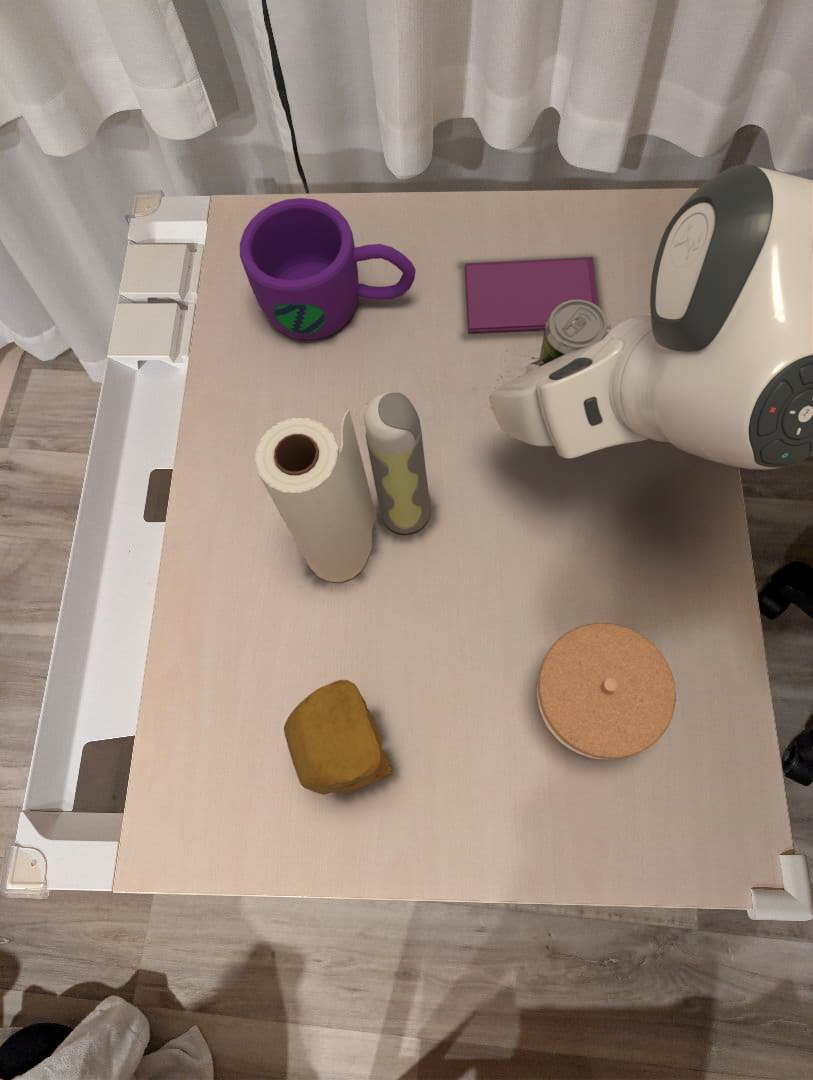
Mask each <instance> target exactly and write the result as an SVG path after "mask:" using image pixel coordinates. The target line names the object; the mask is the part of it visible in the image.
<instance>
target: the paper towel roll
mask: <svg viewBox="0 0 813 1080" xmlns="http://www.w3.org/2000/svg"><path fill="white" fill-rule="evenodd" d="M340 432H341V433H340V435H341V437H340V438H341V447H340V448H339V445H338V443H337V440H336V437H335V435H334V433H333V432H332V431H330V429H329V428H328V427H327V426H325V424H324V423H322V422H319V421H316V420H314V419H312V418H309V417H290V418H287V419H285V420H283V421H282V420H281V421H279V422H276V423H275V424H274V425H273V426H272V427H270V428H269V429H268V430H267V431H266V432H264V433H263V435H262V437H261V439H260V440H259V441H258V443H257V445H256V450H255V457H254V464H255V467H256V471H257V473H258V476H259V478H260V481H261V482H262V484H263V485H264V487H265V489H266V491H267V493H268V494H269V496H270V498H271V500H272V502H273V504H274V505H275V507H276V508H277V511H278V513H279V514H280V516H281V518H282V520H283V522H284V523H285V525H286V527H287V528H288V530H289V533H290V534H291V537H292V538H293V539H294V542H295V543H296V545H297V547H298V549H299V550H300V552H301V554H302V556H303V558H304V559H305V561H306V563H307V566H309V568H310V569H311V571H312V572H313V573H314V574H315V575H316V576H317V577H318V578H320V579H322V580H324V581H327V582H329V583H343V582H346V581H349V580H352V579H354V578H355V577H356V576H357V575H359V574H360V573H361V572H362V571H363V570H364V568H365V566H366V563H367V562H368V560H369V556H370V554H371V552H372V549H373V530H374V529H373V528H374V524H375V522H376V521H377V514H376V509H375V505H374V500H373V497H372V493H371V490H370V486H369V483H368V482H369V481H368V477H367V473H366V470H365V466H364V461H363V458H362V453H361V450H360V446H359V442H358V439H357V437H358V436H357V434H356V430H355V425H354V422H353V418H352V413H351V410H350V408H347V410H346V411H345V414H344V415H343V418H342V424H341V427H340Z"/></svg>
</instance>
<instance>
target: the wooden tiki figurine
mask: <svg viewBox="0 0 813 1080" xmlns="http://www.w3.org/2000/svg"><path fill="white" fill-rule="evenodd" d="M379 730H380V729H379V728H378V725H377V722H376V721H375V717H374V715H373V714H372V713H371V711H370V710H369V708H368V706H367V703H366V701H365V699H364V697H363V695H362V694H361V691H360V689H359V688H358V686H357V685H356V684H355V683H354V682H352V681H350V680H349V679H339V680H334V681H332V682H331V683H328V684H326V685H323V686H321V687H319V688H317V689H315V690H314V691H312V692H311V693H310V694H308V695H307V697H305V698H304V699H303V700H302V701H300V703H298V704H297V706H296V707H295V708H294V709H293V710H292V711H291V712H290V714H289V715H288V717H287V719H286V721H285V723H284V725H283V733H284V737H285V741H286V744H287V747H288V753H289V755H290V758H291V761H292V765H293V767H294V770H295V773H296V775H297V779H298V781H299V784H300V786H301V787H302V788H304V789H306V790H308V791H311V792H314V793H316V794H320V795H324V796H325V795H330V794H334V793H338V792H339V793H340V795H346V794H348V793H351V792H354V791H356V790H358V789H361V788H363V787H366V786H368V785H370V784H373V783H376V782H377V781H380V780H382V779H384V778H387V777H389V776H391V775H393V774H394V773H393V769H392V768H393V767H392V765H391V763H390V762H391V761H390V760H389V759H388V755H387V753H385V750H384V748H383V741H382V737H381V736H382V735H381V734H380V731H379Z"/></svg>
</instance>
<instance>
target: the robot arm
mask: <svg viewBox="0 0 813 1080" xmlns="http://www.w3.org/2000/svg"><path fill="white" fill-rule="evenodd" d="M649 309H650V311H649V312H647V313H646V314H645V313H644V314H643V315H638V316H633V317H630V318H627V319H625V320H623V321H622V322H620V323H619V324H617V325H616V326H614V327H613V328H611V329H608V328H607V332H608V333H607V334H606V335H604V336H603V338H602V339H601V340H600V341H598V342H596V343H594V344H592V345H590V346H587V347H585V348H581V349H577V350H574V351H571V352H569V353H566V354H564V355H562V356H560V357H558V358H556V359H554V360H552V361H550V362H548V363H547V362H546V361H544V360H541V359H540V360H539V359H538V360H535V361H532V362H531V363H529V364H527V365H526V366H525V370H526V372H525V373H523V374H521V375H520V376H517V377H515V378H514V379H511V380H509V381H508V382H505V383H504V384H502V385H499V386H497V387H495V388H494V389H493V390H492V391H491V393H490V395H489V403H490V407H491V409H492V412H493V415H494V418H495V420H496V423H497V425H498V427H499V429H500V431H502V432H503V433H504V434H506V435H507V436H510V437H511V438H514V439H515V440H518V441H521V442H523V443H526V444H528V445H530V446H535V447H546V448H547V447H553V446H554V448H555V450H556V452H557V455H558V456H560V457H561V458H564V459H567V460H568V459H569V460H570V459H575V458H576V459H577V458H579V457H581V456H585V455H589V454H590V453H594V452H596V451H601V450H605V449H607V448H610V447H614V446H619V445H623V444H631V443H638V442H643V441H646V440H648V439H649V440H652V441H657V442H663V443H670V444H672V445H673V446H674V447H675V448H677V449H679V450H681V451H683V452H685V453H688V454H691V455H694V456H696V457H699V458H702V459H705V460H709V461H712V462H715V463H719V464H722V465H726V466H731V467H735V468H740V469H746V470H747V469H749V470H761V471H762V470H764V471H765V470H776V469H781V468H786V467H790V466H793V465H795V464H798V463H800V462H802V461H805V460H807V459H808V458H810V457H811V456H813V179H809V178H805V177H802V176H798V175H797V176H796V175H795V174H794V175H793V174H790V173H786V172H782V171H778V170H773V169H768V168H764V167H760V166H756V165H753V164H747V163H744V164H738V165H734V166H732V167H729V168H727V169H725V170H723V171H721V172H719V173H717V174H716V175H714V176H712V177H711V178H710V179H708V180H706V182H704V183H703V184H702V185H701V186H700V187H699V188H698V189H696V190H695V191H694V192H693V193H692V194H691V196H689V197H688V198H687V199H686V201H685V202H684V203H683V204H682V206H681V207H680V208H679V209H678V210H677V212H676V213H675V214H674V216H673V217H672V219H670V221H669V222H668V224H667V226H666V228H665V230H664V232H663V234H662V237H661V239H660V243H659V246H658V249H657V251H656V257H655V258H654V263H653V267H652V273H651V281H650V295H649Z"/></svg>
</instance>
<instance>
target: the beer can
mask: <svg viewBox="0 0 813 1080" xmlns="http://www.w3.org/2000/svg"><path fill="white" fill-rule="evenodd" d="M607 329H608V322H607V317H606V314H605V313H604V311H603V310H602V309H601V307H600V306H599V307H598V306H597V305H595V304H593V303H591V302H589V301H585V300H569V301H566V302H563V303H561V304H560V305H558V306H557V307H556V308H555V309H554V310H553V312H552V313H551V316H550V317H549V318H548V320H547V323H546V326H545V330H543V331H544V332H543V335H542V336H543V337H542V342H541V347H540V353H539V358H538V360H540V359H541V360H544V361H546V362H547V363H548V362H550V361H552V360H554V359H556V358H558V357H560V356H562V355H564V354H566V353H569V352H571V351H574V350H577V349H581V348H585V347H587V346H590V345H592V344H594V343H596V342H598V341H600V340H601V339H602V338H603V336H604V335H606V334H607V333H608V332H607Z"/></svg>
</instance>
